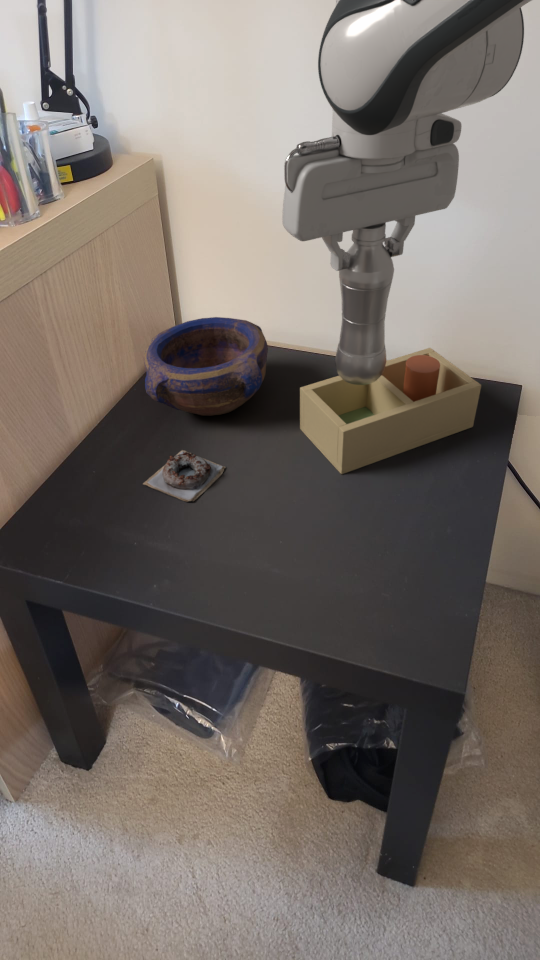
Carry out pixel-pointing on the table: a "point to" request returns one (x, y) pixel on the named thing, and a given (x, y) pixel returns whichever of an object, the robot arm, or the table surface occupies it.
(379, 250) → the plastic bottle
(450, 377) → the divided box
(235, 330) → the bowl
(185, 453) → the donut
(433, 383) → the orange cylinder
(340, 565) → the table surface
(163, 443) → the table surface
